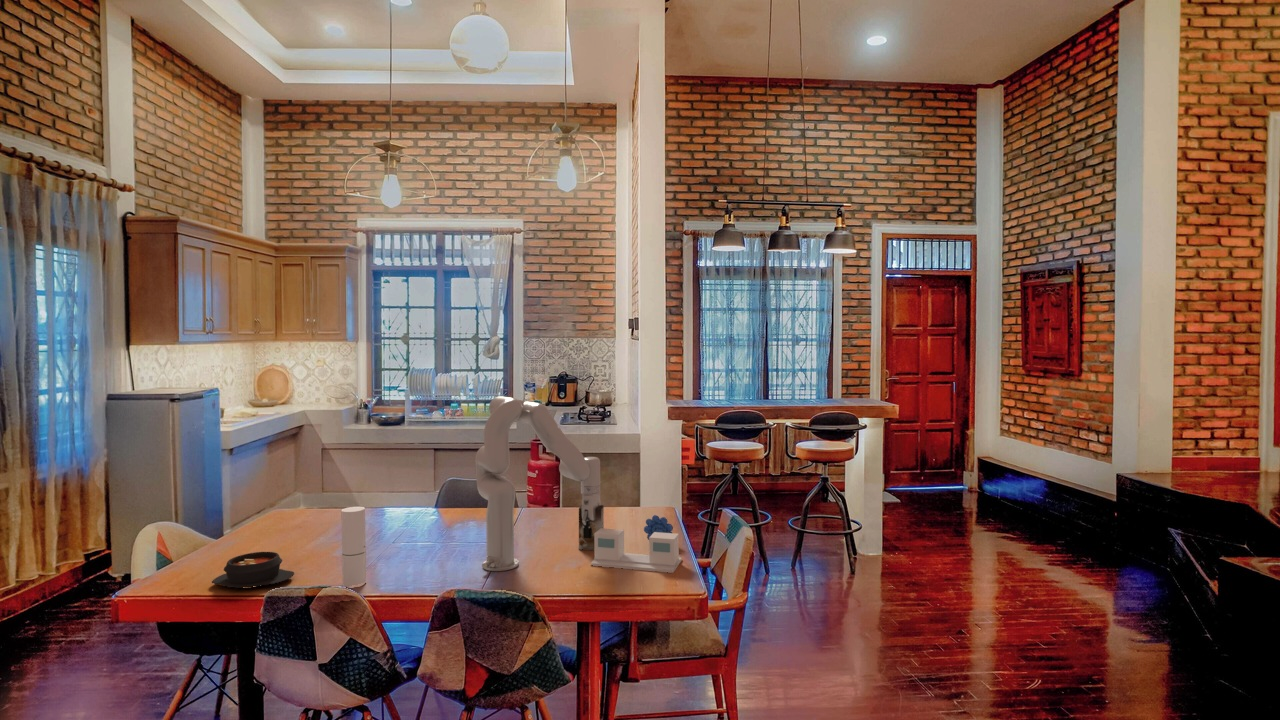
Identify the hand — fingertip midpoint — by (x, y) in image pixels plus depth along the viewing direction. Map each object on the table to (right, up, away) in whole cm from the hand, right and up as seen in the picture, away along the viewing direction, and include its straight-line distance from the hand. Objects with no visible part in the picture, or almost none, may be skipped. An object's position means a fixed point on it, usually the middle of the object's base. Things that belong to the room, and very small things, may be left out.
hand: (591, 534), depth 258 cm
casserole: (-110, -7, -35) cm, 115 cm away
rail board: (+18, -5, -18) cm, 26 cm away
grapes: (+26, -5, +1) cm, 27 cm away
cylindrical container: (-75, -7, -38) cm, 84 cm away
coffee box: (0, -5, 0) cm, 5 cm away
